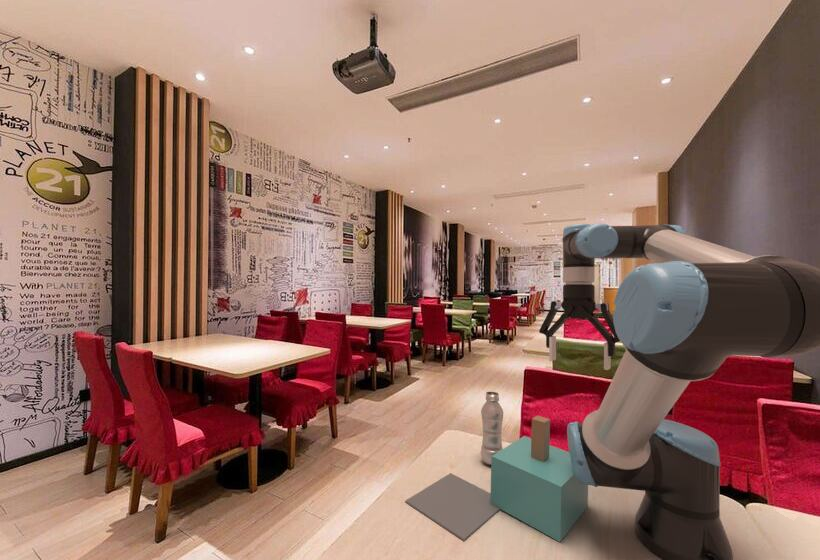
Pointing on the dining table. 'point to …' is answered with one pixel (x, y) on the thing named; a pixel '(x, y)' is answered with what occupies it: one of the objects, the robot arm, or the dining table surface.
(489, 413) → the plastic bottle
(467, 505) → the mat
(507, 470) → the teal base with peg
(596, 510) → the dining table surface
